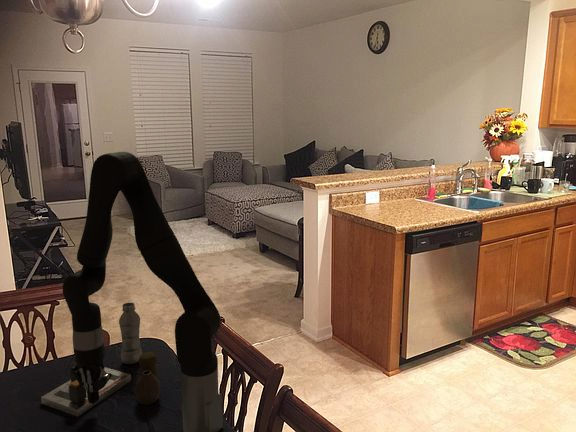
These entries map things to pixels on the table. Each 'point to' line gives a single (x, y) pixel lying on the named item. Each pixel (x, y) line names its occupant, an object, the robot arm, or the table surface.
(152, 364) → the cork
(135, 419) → the table surface
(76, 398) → the breaker handle
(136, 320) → the plastic bottle
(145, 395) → the vase
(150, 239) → the robot arm
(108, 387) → the breaker panel
